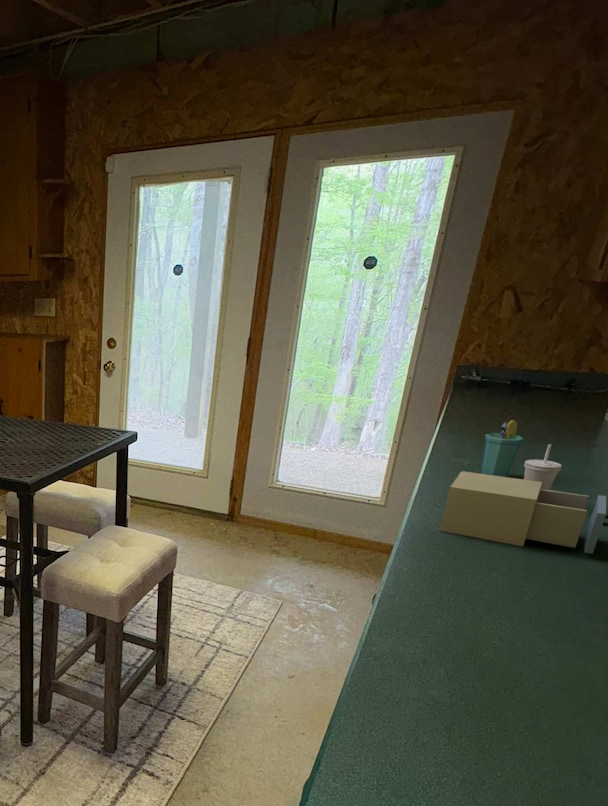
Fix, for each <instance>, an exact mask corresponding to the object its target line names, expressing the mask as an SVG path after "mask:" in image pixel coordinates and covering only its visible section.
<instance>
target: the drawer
mask: <svg viewBox="0 0 608 806" xmlns="http://www.w3.org/2000/svg"><path fill="white" fill-rule="evenodd" d="M589 497H590V496H589V495H588V494H580V493H579V494H578V493H572V492H566V491H558V490H551V489H550V490H545V489H540V491H539V495H538V498H537V501H536V505H535V508H534V511H533V515H532V518H531V522H530V525H529V528H528V532H527V535H526V539H525V540H530V541H535V542H541V543H546V544H552V545H557V546H563V547H567V548H568V547H569V548H572V549H573V548H574V549H575V548H576V547H577V544H578V541H579V538H580V535H581V532H582V529H583V526H584V522H585V520H586V517H587V515H588V514H587V513H588V509H586V506H587V503H588V500H589ZM605 519H607V520H608V514H607V495H601V494H598V495H597V497H596V500H595V503H594V506H593V510H592V512H591V516H590V519H589V521H588V524H587V528H586V529H585V537H584V548H583V549H584V550H583V553H586V554H591V555H593V554H594V551H595V549H596V546H597V542H598V540H599V536H600V533H601V531H602V528H603V527H608V522H606V521H605Z"/></svg>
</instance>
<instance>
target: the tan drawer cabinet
mask: <svg viewBox="0 0 608 806" xmlns="http://www.w3.org/2000/svg"><path fill="white" fill-rule="evenodd" d="M541 485H542V482H538V481H531V480H524V478H514V477H508V476H507V477H501V476H494V475H486V474H481V473H478V472H471V471H465V470H461V471H460V473H459V474H458V475H457V477H456V478H455V479H454V481H453V483H452V484H451V485H450V487H449V490H448V496H447V499H446V503H445V506H444V507H445V508H444V511H443V517H442V519H441V524H440V528H439V531H440V532H443V533H444V532H445V533H450V534H455V535H460V536H465V537H470V538H475V539H481V540H486V541H490V542H491V541H492V542H497V543H502V544H508V545H512V546H519V547H524V545H525V541H526V540H527V539H526V535H527V532H528V528H529V525H530V522H531V518H532V515H533V511H534V508H535V505H536V501H537V498H538V495H539V491H540V488H541Z"/></svg>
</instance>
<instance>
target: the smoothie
mask: <svg viewBox="0 0 608 806" xmlns="http://www.w3.org/2000/svg"><path fill="white" fill-rule="evenodd" d="M551 449H552V444H551V443H549V444H547V448H546V451H545V455H544V458H543V459H527V460H525V461H524V463H523V467H524V475H523V480H531V481H538V482H542V485H541V488H540V489H545V490H551V488H552V485H553V483H554V481H555V479H556V477H557V475H558V473H559V472H560V471H561V470H562V465H563V464H561V463H559V462H555V461H552V460H548V459H549V456H550V452H551Z"/></svg>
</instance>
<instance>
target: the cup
mask: <svg viewBox="0 0 608 806" xmlns="http://www.w3.org/2000/svg"><path fill="white" fill-rule="evenodd" d="M517 430H518V422H517V421H516V420H513V419H511V420H510V421H508V422H503V423H502V425H501V427H500V431H501V432H491V433H486V434H485V435H484V440H485V445H484V451H483V458H482V465H481V471H480V472H481V473H480V474H486V475H494V476H501V477H508V476H509V473H510V471H511V469H512V466H513V463H514V460H515V458H516V456H517V454H518V450H519V448H520V446H521V444H523V441H524V438H523V437H521V436H520V435H517V434H516V433H517Z"/></svg>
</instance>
